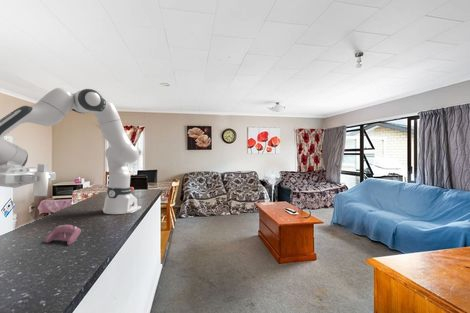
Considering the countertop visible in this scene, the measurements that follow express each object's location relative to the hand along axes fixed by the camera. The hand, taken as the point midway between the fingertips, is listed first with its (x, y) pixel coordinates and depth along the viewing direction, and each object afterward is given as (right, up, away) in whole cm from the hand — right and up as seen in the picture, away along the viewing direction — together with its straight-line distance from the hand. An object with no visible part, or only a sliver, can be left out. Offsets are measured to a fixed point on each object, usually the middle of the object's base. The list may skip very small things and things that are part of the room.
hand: (43, 178), depth 87 cm
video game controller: (+12, -23, -5) cm, 26 cm away
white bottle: (-1, -6, 0) cm, 7 cm away
